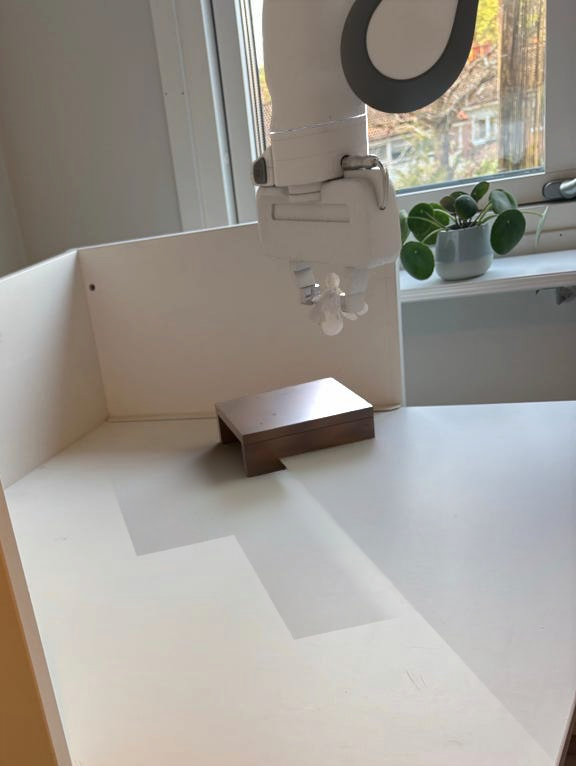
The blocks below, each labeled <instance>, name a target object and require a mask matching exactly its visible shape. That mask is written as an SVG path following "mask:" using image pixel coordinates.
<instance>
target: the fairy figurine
mask: <svg viewBox="0 0 576 766" xmlns="http://www.w3.org/2000/svg"><path fill="white" fill-rule="evenodd" d="M324 282H325V287H326V289H325V290H324V291H323V293H322V294H320V297H317V298H316V297H314V298H313V299H312V302H313V301H315V300H318V301H319V300H320V301H319V302H318V303H317V304H314V306H313V307H312V308H311V310H310V311H309V314H308V318H309V320H310V321H311V322H312V323H315V322H317V325H318V326H320V325H321V329H322V331H323V333H324V334H325V335H327V336H330V337H332V336H333V337H334V336H336V335H338V334H339V333H341V332H342V329H343V326H344V322H343V316H344V317H345V318H346V319H348V320H349V321H356V320H357V319H358V316H363V315H365V314H366V313H367V312H368V311H369V304H368V303H367V302H365V301H364V303H365V307H364V309H363V310H362V311H360V312H356V313H353V314H352V313H346V312H343V311H342V310H341V302H340V294H344V293H345V291H342V290H341V288H340V287H339V286H340V282H341V279H340V277H339V275H338V274H336V272H329V273H328V274H327V275H326V277H325V281H324ZM340 313H341V314H340ZM357 315H358V316H357Z"/></svg>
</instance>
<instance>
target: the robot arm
mask: <svg viewBox="0 0 576 766" xmlns="http://www.w3.org/2000/svg"><path fill="white" fill-rule="evenodd" d="M479 4H480V0H262V10H261V11H262V12H261V13H262V14H261V28H262V29H261V37H262V38H261V39H262V40H261V41H262V57H263V59H262V60H263V71H264V80H265V84H266V86H267V90H268V93H269V96H270V101H271V116H270V123H269V138H270V139H269V140H270V145H269V146H268V147H266V149H265V150H264V151H263V152H262V153H261V154H260V155H259V156H258V157H257V158H256V159H254V160H253V161H252V162H251V164H250V166H249V175H250V183H251V185H252V186H254V187H258V188H257V190H256V193H255V210H256V219H257V227H258V234H259V239H260V244H261V247H262V250H263V252H264V253H265V255H266V257H267V258H268V259H273V260H274V259H275V260H283V261H288V268H289V272H290V275H291V277H292V279H293V282H294V284H295V286H296V289H297V296H298V303H299V304H300V305H302V306H308V307H310V306H313V305H316V304H317V303H318V302H319V301H320V300H319V301H318V300H315V301H313V302H312V299H313V298H314V297H316V298H317V297H320V296H321V285H320V284H317V283H316V279H315V276H314V272H313V268H314V267H315V264H323V265H331V266H342V269H343V270H342V271H343V277H344V278H346V283H345V288H344V294H340V302H341V310H342V311H343V312H346V313H352V314H353V313H355V314H356V312H360V311H362V310H363V309H364V307H365V303H366V302H365V292H366V288H367V286H368V284H369V280H370V278H371V274H372V269H373V268H376V267H380V266H384V265H388V264H391V263H394V262H397V260H398V258H399V255H400V253H401V251H402V247H403V246H402V245H403V244H402V241H403V240H402V231H401V221H400V211H399V206H398V199H397V193H396V190H395V189H396V188H395V186H394V183H393V180H392V179H391V178H390V175H389V169H388V168H387V167H385V165H384V164H383V163H382V161H381V160H380V157H379V156H378V155H376V154H370V153H369V135H368V134H369V133H368V132H369V131H368V111H367V106H368V107H369V108H371V109H373V110H375V111H378V112H381V113H385V114H391V115H393V114H394V115H398V114H399V115H401V114H408V113H413V112H417V111H419V110H422V109H424V108H427V107H428V106H429V105H431V104H433V103H434V102H436V101H437V100H439V99H440V98H441V97H442V96H444V95H445V94H446V93H447V92H448V91H449V90H450V89H451V87H452V86H454V84H455V82H456V81H457V79H458V78H459V77H460V75H461V74H462V72H463V70H464V68H465V66H466V64H467V62H468V60H469V56H470V55H471V50H472V47H473V43H474V38H475V32H476V25H477V18H478V11H479ZM364 302H365V303H364Z"/></svg>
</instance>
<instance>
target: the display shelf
mask: <svg viewBox="0 0 576 766" xmlns="http://www.w3.org/2000/svg"><path fill="white" fill-rule="evenodd" d="M214 408H215V415H216V416H215V417H216V423H217V430H218V438H219V443H221V444H227V443H233V442H237V441H239V442H240V444H241V445H240V446H241V452H242V453H241V454H242V459H243V460H242V461H243V467H244V469H243V470H244V474H245V476H246V477H247V478H250V477H255V476H259V475H263V474H269V473H273V472H278V471H282V470H286V469H288V467H287V466H286V465H285V464H284V463H283V462H282V459H285V458H289V457H294V456H299V455H304V454H307V453H308V454H309V453H313V452H316V451H321V450H326V449H331V448H334V447H339V446H344V445H348V444H353V443H357V442H362V441H366V440H371V439H374V438H376V432H375V429H376V428H375V417H374V416H375V415H374V405H373V404H371V403H369V402H367V400H365V399H364V398H362V397H361V396H359V395H358V394H356V393H355V392H353V391H352V390H350V389H349V388H347V387H346V386H345V385H343V384H342V383H340V382H339V381H337V380H336V379H334V378H333V377H331V376H330V377H327V378H321V379H317V380H313V381H307V382H304V383H299V384H295V385H290V386H285V387H282V388H277V389H273V390H268V391H264V392H260V393H255V394H250V395H245V396H242V397H237V398H233V399H227V400H223V401H218V402H215V403H214Z"/></svg>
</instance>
